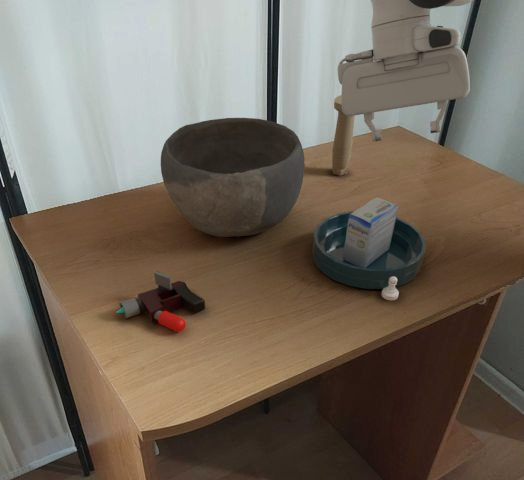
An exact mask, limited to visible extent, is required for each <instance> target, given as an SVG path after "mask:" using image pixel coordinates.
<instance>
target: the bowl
mask: <svg viewBox="0 0 524 480" xmlns="http://www.w3.org/2000/svg"><path fill="white" fill-rule="evenodd" d="M160 172H161V177H162V180H163V185H164V188H165V190H166V192H167V195H168V196H169V198H170V201H171V202H172V204H173V205H174V207H175V208H176V209H177V211H178V213H179V214H180V215H181V216H182V217H183V218H184V219H185V220H186V221H188V223H189V224H190V225H191V226H192V227H193V228H195V229H196V230H198V231H200V232H202V233H205V234H208V235H211V236H214V237H221V238H225V237H227V238H229V237H245V236H255V235H258V234H260V233H263V232H266V231H268V230H270V229H272V228H275V226H277V225H278V224H280V223H281V222H283V221H284V219H285V218H286V217H287V216H288V215H289V214H290V213H291V211H292V210H293V208H294V206H295V205H296V202H297V200H298V198H299V196H300V194H301V193H300V192H301V189H302V186H303V183H304V173H305V153H304V149H303V146H302V143H301V140H300V138H299V136H298V134H296V133H295V131H294V130H292V129H291V128H289V127H288V126H286V125H283V124H280V123H277V122H275V121H271V120H267V119H262V118H255V117H253V118H252V117H224V118H215V119H214V118H213V119H207V120H204V121H203V120H202V121H199V122H195V123H189V124H185V125H183V126H181V127H179V128H178V129H177V130H175V131H174V132H173V133H171V134H170V136H169V137H168V138H167V139H166V140H165V142H164V144H163V146H162V150H161V153H160Z"/></svg>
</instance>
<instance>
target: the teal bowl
mask: <svg viewBox="0 0 524 480" xmlns="http://www.w3.org/2000/svg"><path fill="white" fill-rule="evenodd" d="M354 211H355V210H351V211H345V212H339V213H336V214H333V215H331V216H328V217H326V218H324V219H323V220H322V221H321V222H320V223H318V224H317V225H316V226H315V230H314V232H313V236H312V245H311V255H312V261H313V263H314V264H315V266H316V267H317V268H318V270H319V271H320V272H321V273H323V274H324V275H325V276H327V277H328V278H330V279H331V280H333V281H336V282H338V283H341V284H343V285H346V286H348V287H349V286H350V287H353V288H354V287H355V288H359V289H360V288H361V289H365V290H383V289H384V288H385V287H388V286H389V283H388V282H389V278H390V277H392V276H394V277H396V278H397V284H396V285H395V288H397V287H400V286H403V285H405V284H407V283H409V282H410V281H413V280H414V279H415V278H416V276H417V275H418V274H419V273H420V271H421V270H422V267H423V262H424V258H425V255H426V249H427V242H426V240H425V237H424V235H423V234H422V232H421V231H420V230H419V229H418V228H416V226H414V225H413V224H411V223H409V222H408V221H406V220H404V219H402V218H400V217H398V216H396V220H395V224H394V229H393V233H392V238H391V242H390V247H389V250H387V251H386V252H385V253H384V254H382V255H381V256H380V257H378V258H377V259H376V260H375V261H373V262H372V263H371V264H370V265H368V266H367V267H366V268H364V267H358V266H355V265H353V264H351V263H349V262H347V261H345V260H344V259H343V254H344V247H345V240H346V233H347V226H348V219H349V215H350V214H351V213H353V212H354Z"/></svg>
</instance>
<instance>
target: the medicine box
mask: <svg viewBox="0 0 524 480" xmlns="http://www.w3.org/2000/svg"><path fill="white" fill-rule="evenodd" d="M398 210H399V206H398V205H397V204H395V203H393V202H390V201H388V200H386V199H383V198H380V197H377V196H376V197H374V198H372V199H371V200H370V201H368V202H367V203H364V204H363V205H362V206H360V207H358V208H357V209H355V210H353V211H354V212H353V213H351V214H350V215H349V219H348V226H347V233H346V240H345V247H344V254H343V259H344V260H345V261H347V262H349V263H351V264H353V265H355V266H358V267H364V268H366V267H367V266H368V265H370V264H371V263H372V262H373V261H375V260H376V259H377V258H378V257H380V256H381V255H382V254H384V253H385V252H386V251H387V250H389V247H390V242H391V238H392V233H393V229H394V224H395V220H396V217H397V215H398Z"/></svg>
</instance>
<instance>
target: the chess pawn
mask: <svg viewBox="0 0 524 480" xmlns="http://www.w3.org/2000/svg"><path fill="white" fill-rule="evenodd" d="M388 283H389V286H388V287H385V288H384V289H381V297H382V298H383V299H384V300H386V301H396V300H397V299H398V298H399V294H400V291H399V290H398V289H397V287H395V285H396V284H397V278H396V277H394V276H392V277H390V278H389V282H388Z"/></svg>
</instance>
